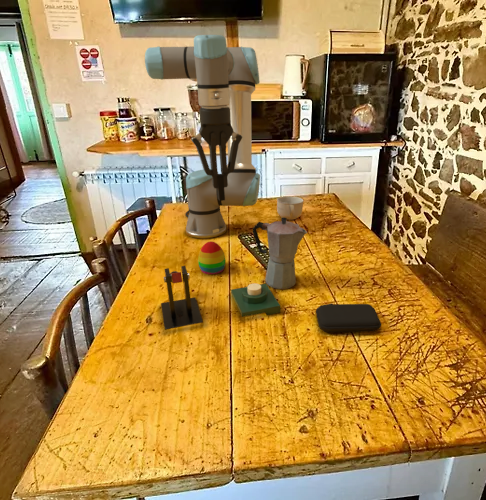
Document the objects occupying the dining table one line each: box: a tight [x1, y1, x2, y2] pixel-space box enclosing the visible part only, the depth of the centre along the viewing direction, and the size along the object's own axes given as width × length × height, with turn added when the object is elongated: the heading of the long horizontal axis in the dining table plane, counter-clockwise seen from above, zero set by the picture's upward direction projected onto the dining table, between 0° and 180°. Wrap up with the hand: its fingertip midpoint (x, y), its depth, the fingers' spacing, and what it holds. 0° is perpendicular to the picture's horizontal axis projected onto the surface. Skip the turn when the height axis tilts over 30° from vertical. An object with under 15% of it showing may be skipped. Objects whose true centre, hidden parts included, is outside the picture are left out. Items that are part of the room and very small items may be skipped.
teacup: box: [276, 195, 304, 221], centre depth 162 cm, size 14×11×8 cm
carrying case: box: [315, 302, 382, 333], centre depth 96 cm, size 11×3×15 cm
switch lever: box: [170, 270, 183, 284], centre depth 100 cm, size 13×3×3 cm, turn 18°
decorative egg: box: [197, 240, 227, 275], centre depth 119 cm, size 8×8×10 cm
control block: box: [230, 283, 281, 318], centre depth 103 cm, size 12×10×4 cm
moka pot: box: [251, 217, 308, 290], centre depth 111 cm, size 10×15×20 cm, turn 78°
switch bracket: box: [160, 265, 204, 331], centre depth 97 cm, size 12×9×13 cm
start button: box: [246, 282, 261, 296], centre depth 102 cm, size 4×4×2 cm
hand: (221, 199), depth 107 cm, fingers closed
